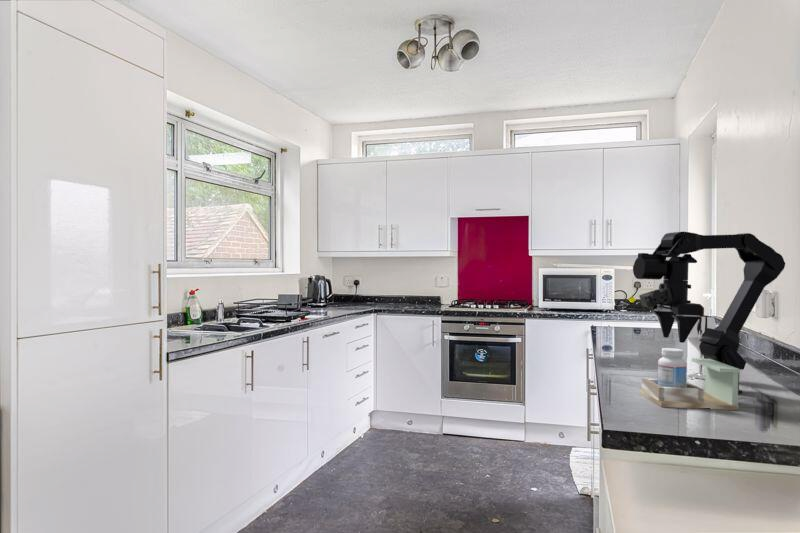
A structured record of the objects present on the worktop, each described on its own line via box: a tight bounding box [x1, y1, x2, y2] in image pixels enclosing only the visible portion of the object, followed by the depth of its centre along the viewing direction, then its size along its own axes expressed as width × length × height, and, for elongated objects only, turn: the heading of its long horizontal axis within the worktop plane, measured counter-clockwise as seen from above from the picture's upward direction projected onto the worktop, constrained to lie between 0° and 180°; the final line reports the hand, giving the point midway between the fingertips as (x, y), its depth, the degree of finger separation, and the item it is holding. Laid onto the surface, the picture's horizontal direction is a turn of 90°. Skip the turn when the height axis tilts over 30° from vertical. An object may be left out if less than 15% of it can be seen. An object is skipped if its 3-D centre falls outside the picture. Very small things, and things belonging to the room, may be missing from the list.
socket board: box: [638, 377, 740, 411], centre depth 127 cm, size 17×13×4 cm
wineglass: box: [686, 314, 717, 380], centre depth 156 cm, size 8×8×18 cm
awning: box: [691, 357, 741, 406], centre depth 127 cm, size 4×13×9 cm, turn 177°
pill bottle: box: [657, 347, 687, 388], centre depth 127 cm, size 6×6×11 cm
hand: (673, 339), depth 139 cm, fingers open, 9 cm apart
